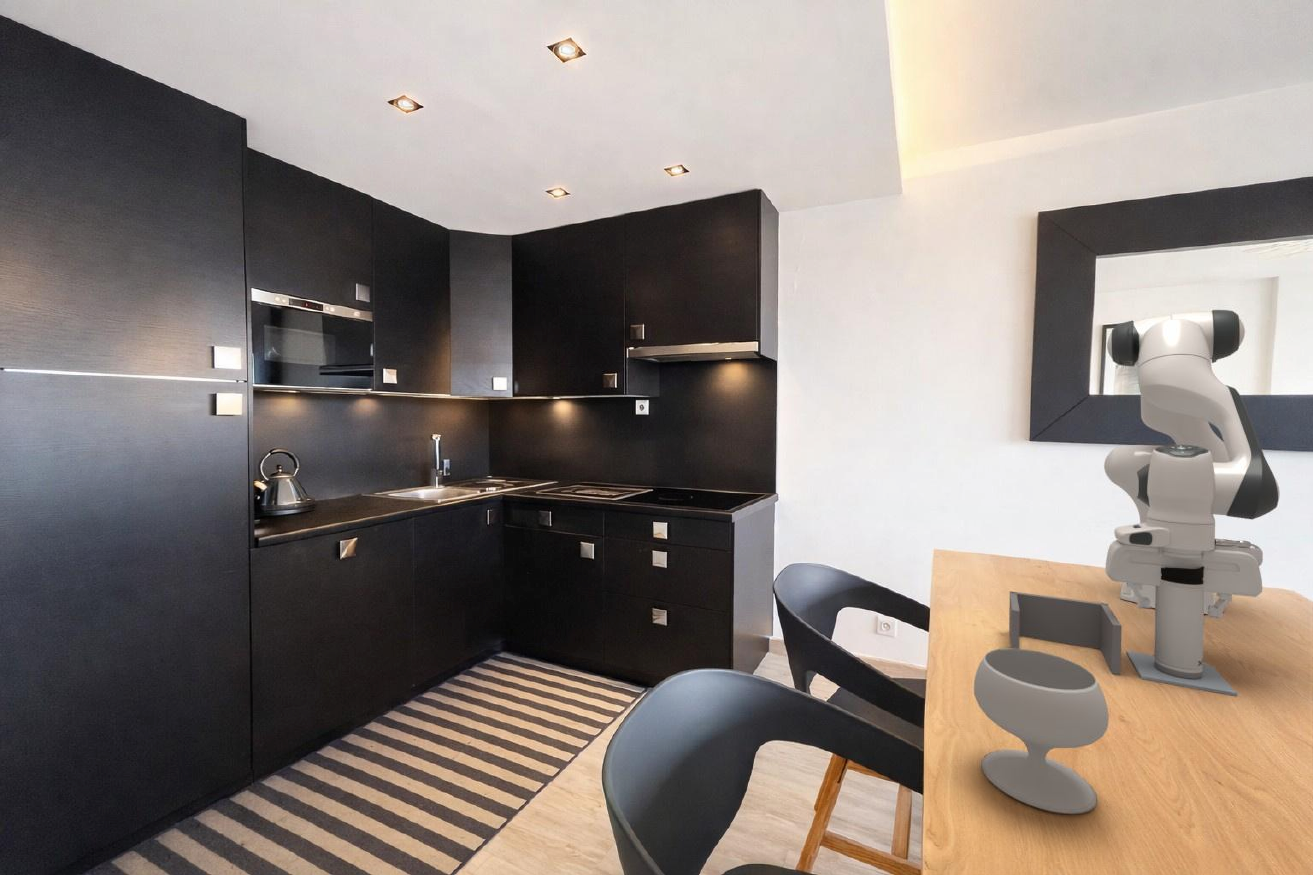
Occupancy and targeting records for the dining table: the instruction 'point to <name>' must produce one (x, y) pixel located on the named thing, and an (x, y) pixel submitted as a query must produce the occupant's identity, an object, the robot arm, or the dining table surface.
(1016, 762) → the chalice
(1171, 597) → the travel mug
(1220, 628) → the dining table surface
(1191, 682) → the mat
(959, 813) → the dining table surface
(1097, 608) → the grey u-shaped channel
